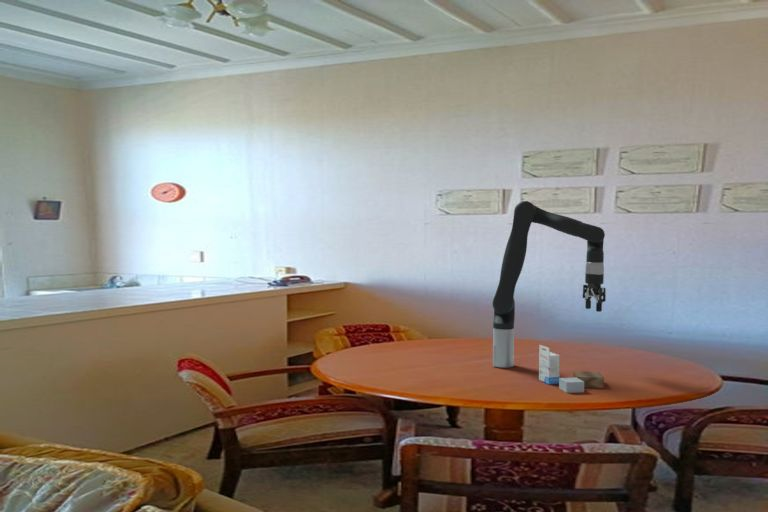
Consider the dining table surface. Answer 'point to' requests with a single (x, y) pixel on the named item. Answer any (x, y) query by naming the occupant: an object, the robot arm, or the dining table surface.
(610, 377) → the dining table surface
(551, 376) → the ink box
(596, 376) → the tan block
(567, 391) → the grey block
